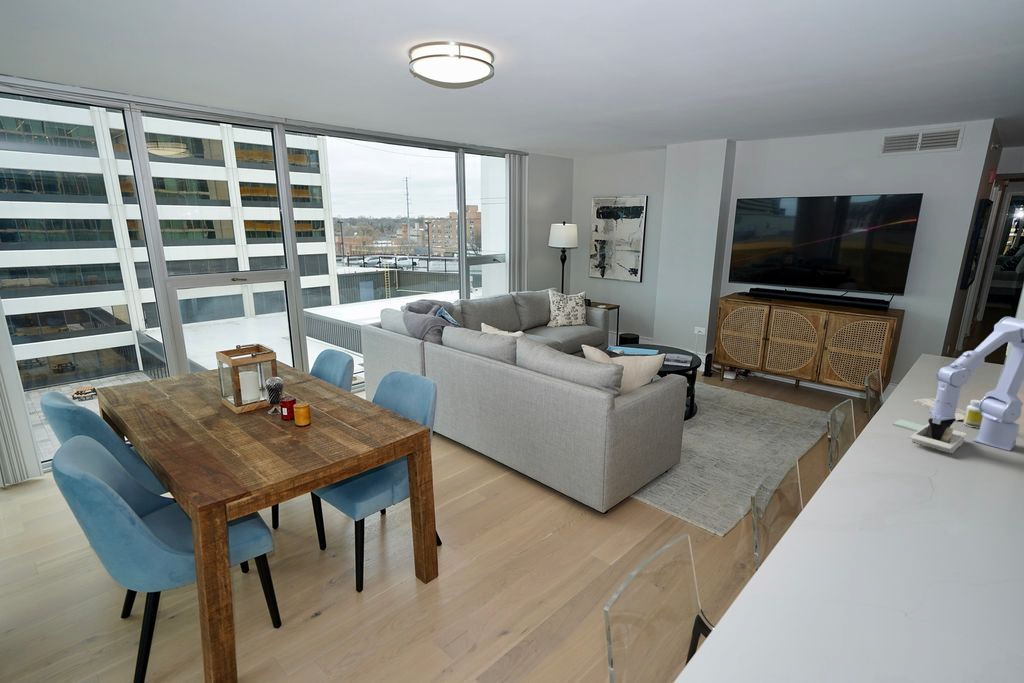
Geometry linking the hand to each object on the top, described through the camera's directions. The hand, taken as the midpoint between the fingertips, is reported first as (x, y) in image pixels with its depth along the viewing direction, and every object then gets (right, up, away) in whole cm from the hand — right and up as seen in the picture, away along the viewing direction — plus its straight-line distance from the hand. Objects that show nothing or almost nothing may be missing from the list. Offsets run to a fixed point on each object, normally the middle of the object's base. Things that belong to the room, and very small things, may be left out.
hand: (938, 438), depth 174 cm
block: (0, -2, +1) cm, 2 cm away
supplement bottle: (+26, +2, +15) cm, 30 cm away
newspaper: (+30, +5, +30) cm, 43 cm away
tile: (+2, +2, +15) cm, 15 cm away
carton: (0, -2, 0) cm, 2 cm away
